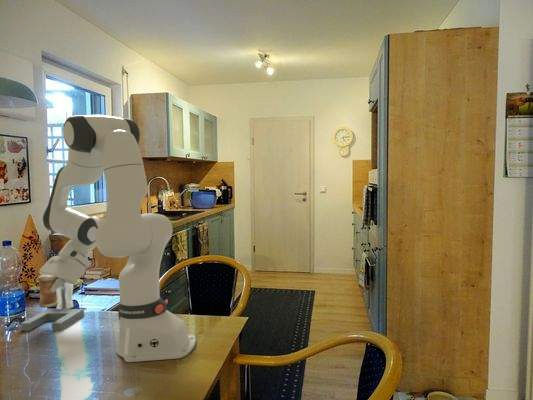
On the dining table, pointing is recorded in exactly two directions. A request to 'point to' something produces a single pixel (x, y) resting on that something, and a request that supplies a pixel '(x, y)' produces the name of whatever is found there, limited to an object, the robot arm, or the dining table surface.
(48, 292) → the cord reel
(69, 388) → the dining table surface
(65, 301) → the beer glass
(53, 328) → the grey flat piece
